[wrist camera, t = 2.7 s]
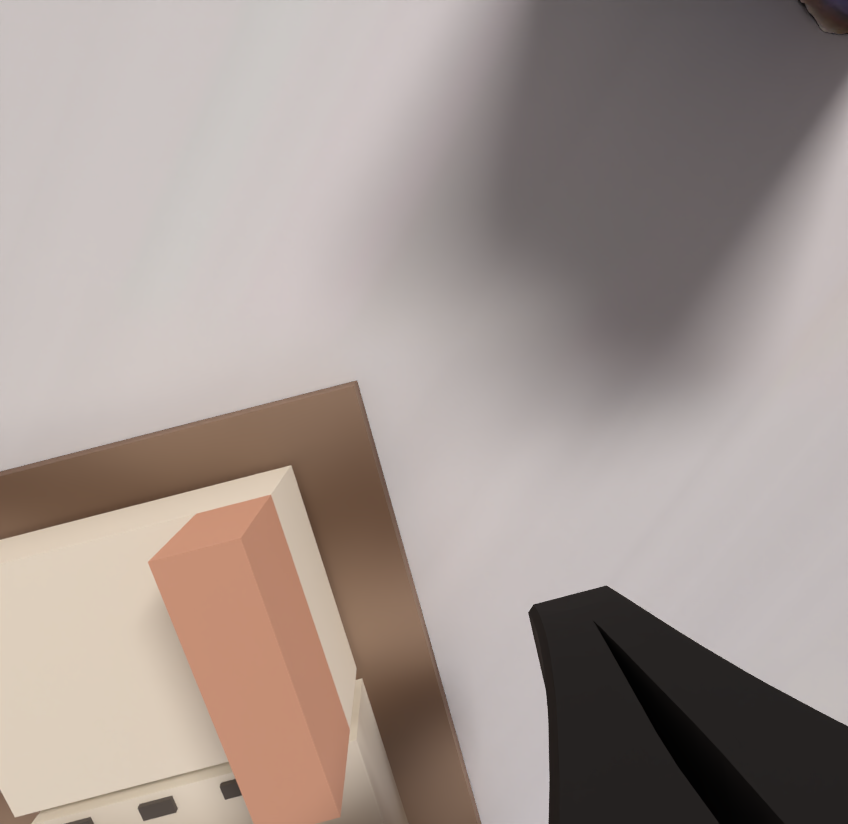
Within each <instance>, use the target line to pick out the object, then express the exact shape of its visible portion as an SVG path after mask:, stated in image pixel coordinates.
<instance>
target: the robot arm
mask: <svg viewBox="0 0 848 824" xmlns="http://www.w3.org/2000/svg"><path fill="white" fill-rule="evenodd" d="M528 613H529V618H530V622H531V626H532V631H533V635H534V640H535V644H536V648H537V653H538V657H539V662H540V666H541V670H542V675H543V679H544V684H545V688H546V695H547V706H548V722H549V771H550V790H549V824H848V726H846V725H844V724H842V723H840V722H838V721H836V720H834V719H832V718H831V717H829V716H827V715H825V714H823V713H821V712H819V711H817V710H815V709H813V708H812V707H810V706H808V705H806V704H804V703H802V702H800V701H798V700H797V699H795V698H793V697H791V696H789V695H787V694H785V693H783V692H782V691H780V690H778V689H776V688H774V687H772V686H770V685H768V684H767V683H765V682H763V681H761V680H760V679H758V678H756V677H754V676H752V675H751V674H749V673H747V672H745V671H744V670H742V669H740V668H739V667H737V666H735V665H734V664H732V663H730V662H728V661H727V660H725V659H723V658H722V657H720V656H718V655H717V654H715V653H713V652H712V651H710V650H708V649H707V648H705V647H703V646H701V645H700V644H698V643H697V642H695V641H693V640H692V639H690V638H688V637H687V636H685V635H684V634H682V633H680V632H679V631H677V630H676V629H674V628H672V627H671V626H669V625H668V624H666V623H665V622H663V621H661V620H660V619H658V618H657V617H655V616H654V615H652V614H650V613H649V612H647V611H646V610H644V609H643V608H641V607H640V606H638V605H636V604H635V603H633V602H632V601H630V600H629V599H627V598H626V597H624V596H622V595H621V594H619V593H618V592H616V591H614V590H613V589H611V588H610V587H608V586H603V587H599V588H596V589H592V590H588V591H584V592H580V593H576V594H573V595H569V596H565V597H561V598H557V599H553V600H550V601H546V602H542V603H538V604H534V605H533V606H532V608H531V609H530V611H529V612H528Z"/></svg>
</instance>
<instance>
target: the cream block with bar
mask: <svg viewBox="0 0 848 824" xmlns="http://www.w3.org/2000/svg"><path fill="white" fill-rule="evenodd" d="M356 670H357V668H356V665H355V662H354V659H353V655H352V652H351V649H350V646H349V643H348V640H347V637H346V634H345V631H344V627H343V624H342V621H341V618H340V615H339V612H338V609H337V606H336V603H335V599H334V596H333V593H332V590H331V587H330V584H329V581H328V578H327V575H326V572H325V568H324V565H323V562H322V559H321V556H320V553H319V550H318V547H317V544H316V540H315V537H314V534H313V531H312V528H311V525H310V522H309V519H308V516H307V512H306V509H305V506H304V503H303V500H302V497H301V494H300V491H299V488H298V484H297V481H296V478H295V475H294V472H293V469H292V466H291V465H290V466H286V467H282V468H278V469H274V470H270V471H267V472H263V473H259V474H255V475H251V476H247V477H243V478H239V479H235V480H232V481H228V482H224V483H220V484H216V485H212V486H208V487H204V488H200V489H196V490H193V491H189V492H185V493H181V494H177V495H173V496H169V497H165V498H161V499H158V500H154V501H150V502H146V503H142V504H138V505H134V506H130V507H126V508H122V509H119V510H115V511H111V512H107V513H103V514H99V515H95V516H91V517H87V518H84V519H80V520H76V521H72V522H68V523H64V524H60V525H56V526H52V527H48V528H45V529H41V530H37V531H33V532H29V533H25V534H21V535H17V536H13V537H10V538H6V539H2V540H0V790H1V792H2V794H3V796H4V798H5V800H6V802H7V804H8V805H9V807H10V809H11V811H12V813H13V815H14V817H19V816H22V815H26V814H30V813H34V812H38V811H42V810H45V809H49V808H53V807H57V806H61V805H65V804H68V803H72V802H76V801H80V800H84V799H88V798H91V797H95V796H99V795H103V794H107V793H110V792H114V791H118V790H122V789H126V788H130V787H133V786H137V785H141V784H145V783H149V782H153V781H156V780H160V779H164V778H168V777H172V776H176V775H179V774H183V773H187V772H191V771H195V770H198V769H202V768H206V767H210V766H214V765H218V764H221V763H225V762H229V764H230V766H231V769H232V771H233V774H234V776H235V779H236V781H237V784H238V786H239V789H240V791H241V794H242V796H243V798H244V801H245V803H246V806H247V808H248V811H249V813H250V816H251V818H252V821H253V823H254V824H317V823H320V822H324V821H328V820H332V819H336V818H339V817H341V808H342V799H343V789H344V780H345V771H346V762H347V753H348V744H349V734H350V725H351V716H352V707H353V698H354V689H355V679H356Z"/></svg>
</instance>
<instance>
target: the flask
mask: <svg viewBox="0 0 848 824" xmlns="http://www.w3.org/2000/svg"><path fill="white" fill-rule="evenodd" d="M800 1H801V2H802V3H805V5H806V7H807V10H808V12H809V13H810V14H812V15H813V17H814V18H815V19H816V21H817V22H818V23H817V24H819V27H820V28H821V29H822V30H823V31H824V32H827V33H832V32H834V33H835V34H845V33H847V34H848V0H800Z"/></svg>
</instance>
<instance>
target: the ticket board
mask: <svg viewBox="0 0 848 824" xmlns="http://www.w3.org/2000/svg"><path fill="white" fill-rule="evenodd" d="M290 465H291V466H292V469H293V472H294V475H295V478H296V481H297V484H298V488H299V491H300V494H301V497H302V500H303V503H304V506H305V509H306V512H307V516H308V519H309V522H310V525H311V528H312V531H313V534H314V537H315V540H316V544H317V547H318V550H319V553H320V556H321V559H322V562H323V565H324V568H325V572H326V575H327V578H328V581H329V584H330V587H331V590H332V593H333V596H334V599H335V603H336V606H337V609H338V612H339V615H340V618H341V621H342V624H343V627H344V631H345V634H346V637H347V640H348V643H349V646H350V649H351V652H352V655H353V659H354V662H355V665H356V668H357V670H356V679H355V689H354V698H353V707H352V716H351V725H350V734H349V744H348V753H347V762H346V771H345V780H344V789H343V799H342V808H341V817H339V818H336V819H332V820H328V821H324V822H320V823H317V824H481V821H480V817H479V813H478V810H477V806H476V803H475V799H474V796H473V792H472V789H471V785H470V781H469V778H468V774H467V771H466V767H465V764H464V760H463V756H462V753H461V749H460V746H459V742H458V739H457V735H456V732H455V728H454V724H453V721H452V717H451V714H450V710H449V707H448V703H447V699H446V696H445V692H444V689H443V685H442V682H441V678H440V675H439V671H438V667H437V664H436V660H435V657H434V653H433V650H432V646H431V642H430V639H429V635H428V632H427V628H426V625H425V621H424V618H423V614H422V610H421V607H420V603H419V600H418V596H417V593H416V589H415V586H414V582H413V578H412V575H411V571H410V568H409V564H408V561H407V557H406V553H405V550H404V546H403V543H402V539H401V536H400V532H399V529H398V525H397V521H396V518H395V514H394V511H393V507H392V504H391V500H390V496H389V493H388V489H387V486H386V482H385V479H384V475H383V472H382V468H381V464H380V461H379V457H378V454H377V450H376V447H375V443H374V439H373V436H372V432H371V429H370V425H369V422H368V418H367V415H366V411H365V407H364V404H363V400H362V397H361V393H360V390H359V386H358V382H357V381H353V382H349V383H345V384H341V385H337V386H333V387H330V388H326V389H322V390H318V391H314V392H310V393H306V394H302V395H298V396H294V397H290V398H287V399H283V400H279V401H275V402H271V403H267V404H263V405H259V406H255V407H251V408H247V409H244V410H240V411H236V412H232V413H228V414H224V415H220V416H216V417H212V418H208V419H204V420H201V421H197V422H193V423H189V424H185V425H181V426H177V427H173V428H169V429H165V430H161V431H157V432H154V433H150V434H146V435H142V436H138V437H134V438H130V439H126V440H122V441H118V442H114V443H111V444H107V445H103V446H99V447H95V448H91V449H87V450H83V451H79V452H75V453H71V454H68V455H64V456H60V457H56V458H52V459H48V460H44V461H40V462H36V463H32V464H28V465H24V466H21V467H17V468H13V469H9V470H5V471H1V472H0V540H2V539H6V538H10V537H13V536H17V535H21V534H25V533H29V532H33V531H37V530H41V529H45V528H48V527H52V526H56V525H60V524H64V523H68V522H72V521H76V520H80V519H84V518H87V517H91V516H95V515H99V514H103V513H107V512H111V511H115V510H119V509H122V508H126V507H130V506H134V505H138V504H142V503H146V502H150V501H154V500H158V499H161V498H165V497H169V496H173V495H177V494H181V493H185V492H189V491H193V490H196V489H200V488H204V487H208V486H212V485H216V484H220V483H224V482H228V481H232V480H235V479H239V478H243V477H247V476H251V475H255V474H259V473H263V472H267V471H270V470H274V469H278V468H282V467H286V466H290ZM0 824H254V823H253V821H252V818H251V816H250V813H249V811H248V808H247V806H246V803H245V801H244V798H243V796H242V794H241V791H240V789H239V786H238V784H237V781H236V779H235V776H234V774H233V771H232V769H231V766H230V764H229V762H225V763H221V764H218V765H214V766H210V767H206V768H202V769H198V770H195V771H191V772H187V773H183V774H179V775H176V776H172V777H168V778H164V779H160V780H156V781H153V782H149V783H145V784H141V785H137V786H133V787H130V788H126V789H122V790H118V791H114V792H110V793H107V794H103V795H99V796H95V797H91V798H88V799H84V800H80V801H76V802H72V803H68V804H65V805H61V806H57V807H53V808H49V809H45V810H42V811H38V812H34V813H30V814H26V815H22V816H19V817H14V815H13V813H12V811H11V809H10V807H9V805H8V804H7V802H6V800H5V798H4V796H3V794H2V792H1V790H0Z"/></svg>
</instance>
